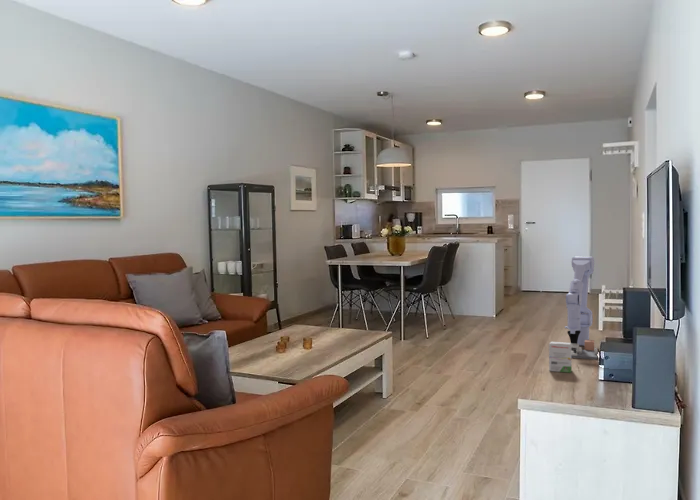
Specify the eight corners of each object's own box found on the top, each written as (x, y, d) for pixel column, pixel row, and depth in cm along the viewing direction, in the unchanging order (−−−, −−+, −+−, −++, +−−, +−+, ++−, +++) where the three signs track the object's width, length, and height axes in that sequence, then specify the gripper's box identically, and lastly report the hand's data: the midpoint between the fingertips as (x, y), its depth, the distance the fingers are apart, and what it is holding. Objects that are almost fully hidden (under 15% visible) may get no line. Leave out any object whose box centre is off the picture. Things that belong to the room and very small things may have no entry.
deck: (566, 350, 279) (566, 342, 278) (598, 352, 273) (598, 344, 272) (563, 357, 266) (563, 348, 266) (597, 359, 260) (597, 350, 260)
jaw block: (585, 350, 279) (585, 339, 279) (594, 350, 277) (594, 340, 277) (584, 351, 276) (584, 341, 275) (593, 352, 274) (593, 342, 274)
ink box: (571, 370, 244) (571, 342, 243) (570, 373, 239) (570, 344, 239) (550, 368, 247) (550, 340, 247) (549, 371, 243) (548, 343, 242)
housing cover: (567, 349, 277) (567, 342, 277) (579, 350, 275) (579, 343, 275) (566, 351, 271) (566, 345, 271) (578, 352, 269) (578, 346, 269)
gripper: (566, 315, 287) (566, 342, 287) (563, 319, 274) (563, 348, 274) (581, 315, 284) (581, 343, 284) (579, 320, 271) (579, 349, 271)
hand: (574, 346), depth 279 cm, fingers closed
